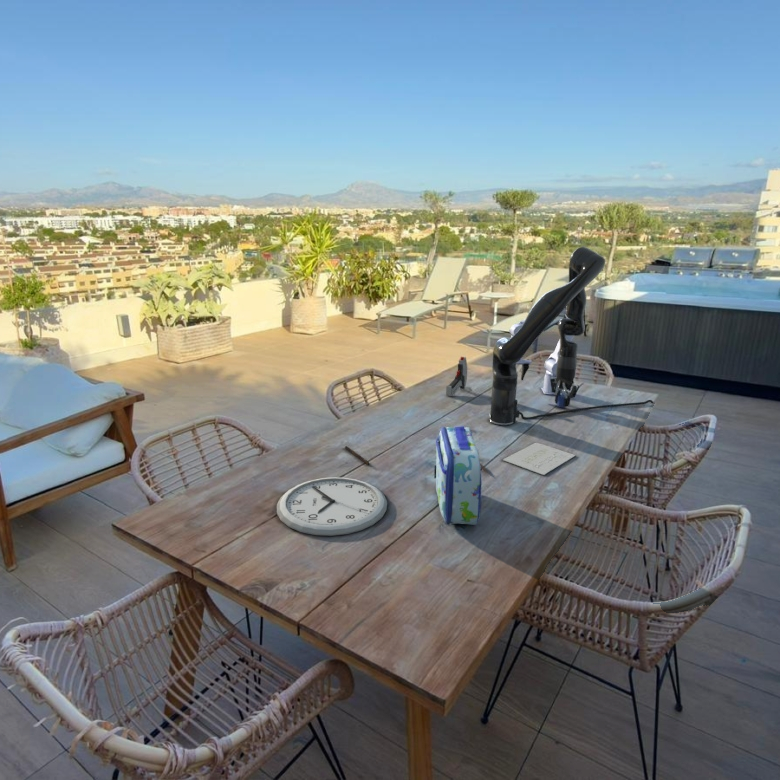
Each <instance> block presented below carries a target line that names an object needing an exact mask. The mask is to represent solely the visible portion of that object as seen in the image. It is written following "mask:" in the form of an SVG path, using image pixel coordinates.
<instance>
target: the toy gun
mask: <svg viewBox="0 0 780 780" xmlns="http://www.w3.org/2000/svg"><path fill="white" fill-rule="evenodd" d="M467 379H468V362H467V357H466V356H460V358H459V360H458V363H457V370H456V375H455V377H454V379H453V380H452V381H451V382H450V383H449V384H448V385H446V388H445V395H446V396H447V397H452V396H454V395H455V394H456V393H457V391H459V389H460V390H463V391H465V390H466V386H467Z"/></svg>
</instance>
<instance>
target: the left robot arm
mask: <svg viewBox="0 0 780 780" xmlns="http://www.w3.org/2000/svg"><path fill="white" fill-rule="evenodd" d="M568 261H569V262H568V283H566V284H564V285H562V286H560V287H556V288H554V289H551V290H549V291H547V292H545V293H544V294H542V296H540V298H539V299H537V301H536V302H535V303H534V305H533V306H531V308H530V310H529V312H528V313H527V315H526V318H525V319H526V320H525V319H524V320H525V322H524V324H523V325H522V327H521V328H520V330H519V331H518V332H517V333H516V334H515V335H514V336H513V337H512V338H511V337H502V338H499V339H498V340H497V341H495V344H494V346H493V349H492V365H491V366H492V367H491V369H492V388H491V399H490V410H489V411H490V412H489V415H488V416H489V422H490V423H491V424H494V425H497V426H511V425H513V424H516V423H517V419H518V418H520V417H521V419H522V420H533V419H538V418H544V417H549V416H556V415H561V414H567V413H574V412H581V411H586V410H595V409H603V408H614V407H615V408H616V407H624V406H625V407H627V406H639V405H645V404H649V403H651V404H654V401H653V400H652V399H647V400H645V401H640V402H625V403H615V404H604V405H595V406H594V405H593V406H588V407H580V408H573V409H567V410H562V411H561V410H559V411H555V412H549V413H544V414H537V415H532V416H529V417H527V416H524V413H523V412H522V411H520V410H519V409H518V399H517V388H518V377H519V376H518V370H517V364H516V363H517V362H518V361H519V360H520V359H521V358H522V359H523V357H524V355H525V354H526V353H527V351H528V350H529V349H530V347H531V346H532V345H533V344H534V343H535V341H536V340H537V339H538V338H539V337H540V336H541V335H542V333H543V332H545V331H546V329H547V328H548V327H549V326H550V325H551V324H552V323H553V322H554V321H555V320H556V319H557V318H558V317H559V315H560V314H562V313H561V312H562V311H563V310H564V308H565V307H566V311H565V314H566V316H567V317H568V318H566V316H565V317H563V318H560V319H559V321H558V322H557V331H558V336H559V339H560V351H559V357H558V363H557V371H556V376H557V377H556V378H553V379H550V382H551V389H552V392H554V393H555V395H554V403H555V404H557V399H558V395H560V394H561V393H562V392H563V394H564V395H565V401H564V406H565V407H564V408H567V407H569V406H570V405H571V404H570V403H571V399H573V398H575V397H576V396H577V393H578V391H579V389H580V385H578V384H575V381H574V379H575V377H576V369H577V362H578V361H577V359H578V358H577V357H578V349H579V348H578V347H579V344H578V342H576V341H574V340H572V341H571V340H568V339H567V338H566V336H574V337H580V336H582V335H583V334H584V333H585V331H586V324H585V318H584V317H585V310H586V307H587V293H586V289H585V288H586V287H587V286H588V285H589V284H591V282H593V281H594V280H595V279H596V278H597V277H598V276H599V274H600V273H601V272H602V271H603V269H604V268H605V265H606V259H605V258H604V256H603V255H601V254H599V253H597V252H595V251H594V250H592V249H591V248H589V247H587V246H580V247H578V248H576V249H575V250H574V251H573V252H572V254H571V255H570V257H569V260H568ZM565 314H564V315H565ZM554 387H555V389H554Z"/></svg>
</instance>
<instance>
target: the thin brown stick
mask: <svg viewBox="0 0 780 780" xmlns="http://www.w3.org/2000/svg"><path fill="white" fill-rule="evenodd" d="M344 449H345V450H346V451H348V452H349V453H350V454H352V455H353V456H355V457H356V458H358V459H359V460H361V461H362V462H363V463H364V464H366V465H370V461H368V460H367V459H366V458H364V457H363V456H361V455H360V454H358V453H357V452H356V451H354V450H353V449H352V448H350V447H348V446H347V445H345V446H344Z"/></svg>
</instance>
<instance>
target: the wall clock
mask: <svg viewBox="0 0 780 780" xmlns="http://www.w3.org/2000/svg"><path fill="white" fill-rule="evenodd" d="M387 509H388V500H387V498H386V496H385V494H384V493H383V492H382V491H381V490H380V489H379V488H377V487H376V486H374V485H372V484H371V483H369V482H365V481H362V480H359V479H355V478H349V477H338V476H337V477H335V476H333V477H332V476H331V477H322V478H317V479H312V480H307V481H305V482H302V483H299V484H297V485H295V486H293V487H292V488H290V489H288V490H287V491H286V492H285V493H284V494H283V495H281V496H280V498H279V499H278V502H277V503H276V515H277V517H278V518H279V520H280V521H281V522H282V523H283V524H285V525H286V526H287V527H288V528H290V529H293V530H295V531H297V532H299V533H303V534H308V535H312V536H327V537H328V536H329V537H331V536H332V537H333V536H342V535H350V534H352V533H356V532H361V531H363V530H366V529H368V528H369V527H372V526H373V525H375V524H376V523H378V522H379V521H380V520H381V519H382V518H383V517H384V516H385V514H386V512H387Z"/></svg>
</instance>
